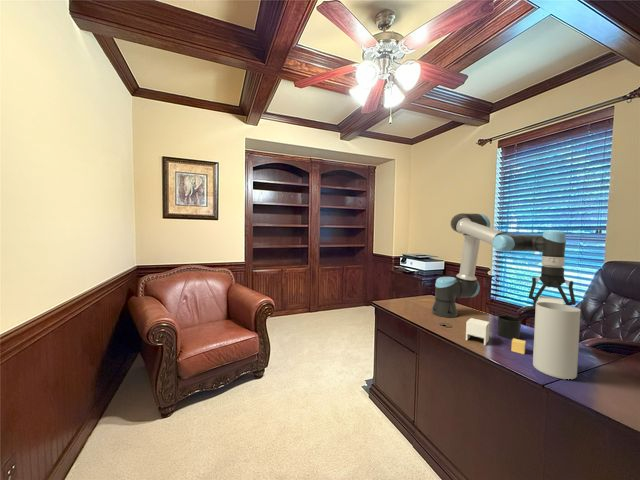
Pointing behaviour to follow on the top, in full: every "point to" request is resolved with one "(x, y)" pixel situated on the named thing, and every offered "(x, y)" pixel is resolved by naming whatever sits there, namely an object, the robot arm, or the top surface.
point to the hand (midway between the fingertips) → (550, 317)
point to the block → (518, 346)
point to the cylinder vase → (556, 339)
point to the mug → (509, 327)
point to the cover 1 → (477, 329)
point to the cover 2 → (550, 300)
